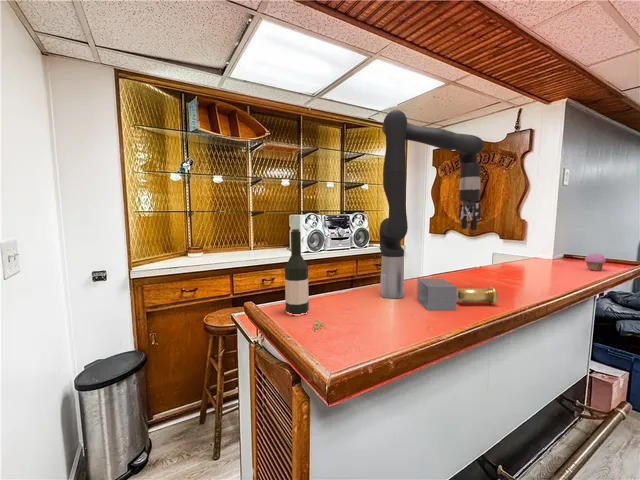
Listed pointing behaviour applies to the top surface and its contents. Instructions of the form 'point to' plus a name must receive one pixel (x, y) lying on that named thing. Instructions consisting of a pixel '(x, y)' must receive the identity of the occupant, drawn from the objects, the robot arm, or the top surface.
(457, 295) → the end cap
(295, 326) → the top surface
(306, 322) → the top surface
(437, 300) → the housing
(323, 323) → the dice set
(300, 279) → the wine bottle
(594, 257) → the cupcake
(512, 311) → the top surface
